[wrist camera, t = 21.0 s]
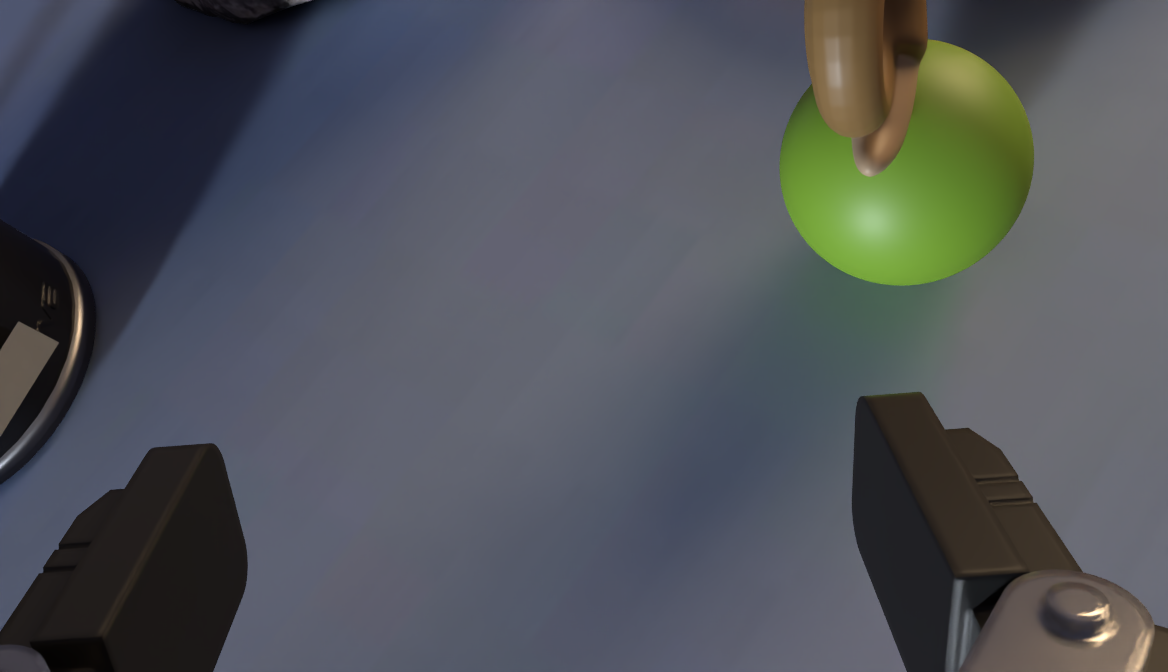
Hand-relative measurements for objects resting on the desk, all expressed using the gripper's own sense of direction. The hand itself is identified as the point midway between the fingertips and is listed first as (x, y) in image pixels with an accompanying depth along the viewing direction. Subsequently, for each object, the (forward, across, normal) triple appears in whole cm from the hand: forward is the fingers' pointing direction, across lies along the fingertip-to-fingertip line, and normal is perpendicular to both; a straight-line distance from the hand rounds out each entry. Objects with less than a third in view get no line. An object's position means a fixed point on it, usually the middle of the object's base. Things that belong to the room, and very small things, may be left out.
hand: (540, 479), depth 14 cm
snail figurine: (+14, -9, +2) cm, 17 cm away
